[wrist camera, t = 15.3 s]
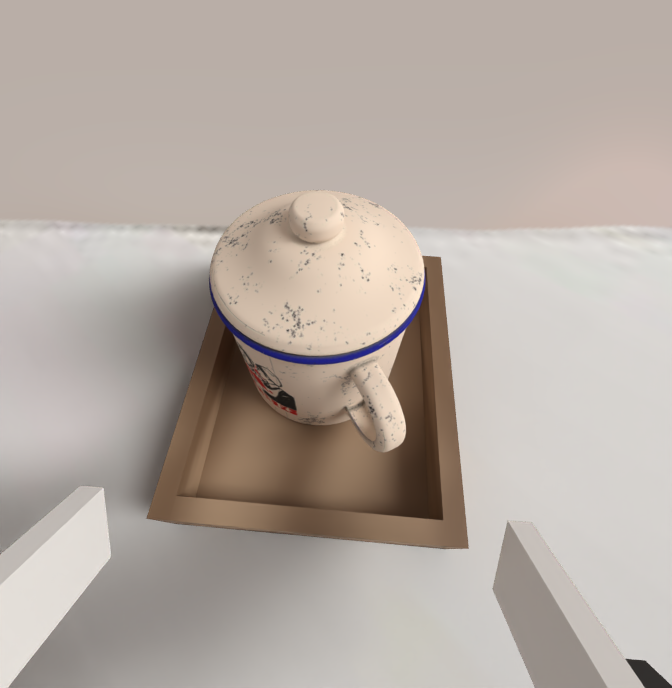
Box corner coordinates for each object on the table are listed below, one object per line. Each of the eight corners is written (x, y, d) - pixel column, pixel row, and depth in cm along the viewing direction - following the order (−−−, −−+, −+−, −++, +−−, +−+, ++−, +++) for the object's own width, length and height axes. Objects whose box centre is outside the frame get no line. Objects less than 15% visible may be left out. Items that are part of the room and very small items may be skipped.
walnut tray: (175, 523, 18) (146, 518, 15) (245, 276, 27) (234, 241, 24) (445, 549, 18) (468, 548, 15) (427, 290, 27) (440, 257, 24)
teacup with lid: (230, 331, 23) (155, 165, 13) (352, 286, 25) (368, 113, 15) (301, 512, 18) (266, 463, 8) (448, 435, 20) (570, 320, 10)
